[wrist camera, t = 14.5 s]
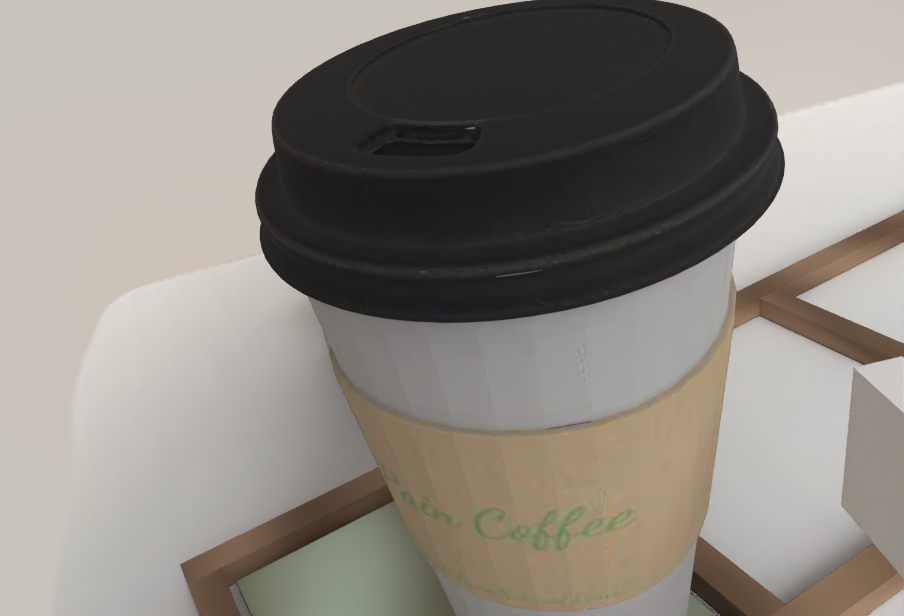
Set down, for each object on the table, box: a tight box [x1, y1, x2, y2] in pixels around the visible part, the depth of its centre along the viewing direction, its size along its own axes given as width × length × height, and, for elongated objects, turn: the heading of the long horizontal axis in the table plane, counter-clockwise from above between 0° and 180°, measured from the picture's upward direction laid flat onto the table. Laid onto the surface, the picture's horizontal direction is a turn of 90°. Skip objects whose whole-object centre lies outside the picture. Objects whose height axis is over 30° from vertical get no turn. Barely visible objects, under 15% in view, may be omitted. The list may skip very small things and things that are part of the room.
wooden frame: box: [180, 210, 904, 616], centre depth 28 cm, size 37×13×1 cm, turn 120°
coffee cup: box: [255, 0, 785, 616], centre depth 19 cm, size 9×9×15 cm
